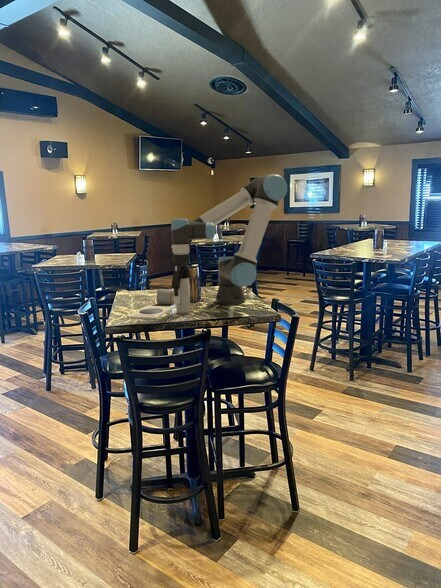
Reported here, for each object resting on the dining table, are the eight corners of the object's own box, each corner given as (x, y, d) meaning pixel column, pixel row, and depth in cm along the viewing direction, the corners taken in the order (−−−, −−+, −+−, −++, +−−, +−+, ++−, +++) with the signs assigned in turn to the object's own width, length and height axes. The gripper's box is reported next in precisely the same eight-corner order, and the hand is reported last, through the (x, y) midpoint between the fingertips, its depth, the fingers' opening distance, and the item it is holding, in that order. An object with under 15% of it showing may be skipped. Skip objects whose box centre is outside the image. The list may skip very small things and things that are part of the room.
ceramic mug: (171, 306, 216) (171, 290, 214) (156, 305, 218) (155, 290, 217) (179, 301, 226) (178, 287, 224) (164, 301, 228) (164, 286, 227)
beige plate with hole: (173, 308, 211) (173, 306, 210) (157, 319, 192) (156, 317, 192) (146, 307, 214) (146, 305, 214) (127, 317, 195) (127, 315, 195)
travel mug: (185, 310, 205) (184, 268, 201) (192, 313, 200) (191, 270, 196) (174, 312, 202) (172, 270, 198) (180, 315, 197) (178, 271, 193)
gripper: (182, 250, 208) (183, 294, 212) (162, 256, 185) (164, 305, 189) (197, 250, 206) (198, 294, 211) (179, 256, 183) (181, 306, 187)
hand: (182, 299), depth 200 cm, fingers open, 13 cm apart
